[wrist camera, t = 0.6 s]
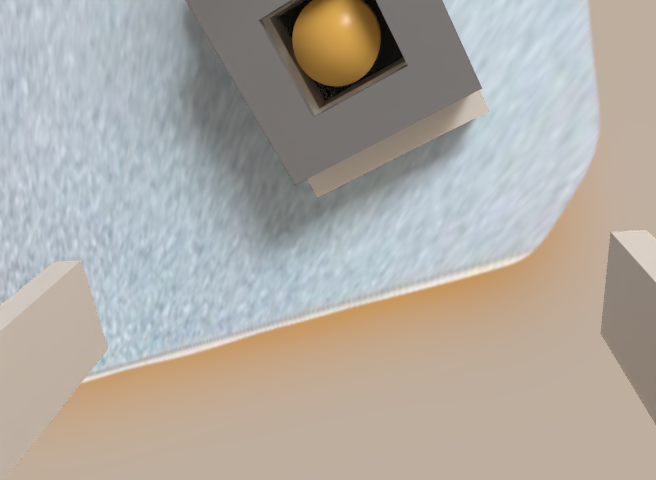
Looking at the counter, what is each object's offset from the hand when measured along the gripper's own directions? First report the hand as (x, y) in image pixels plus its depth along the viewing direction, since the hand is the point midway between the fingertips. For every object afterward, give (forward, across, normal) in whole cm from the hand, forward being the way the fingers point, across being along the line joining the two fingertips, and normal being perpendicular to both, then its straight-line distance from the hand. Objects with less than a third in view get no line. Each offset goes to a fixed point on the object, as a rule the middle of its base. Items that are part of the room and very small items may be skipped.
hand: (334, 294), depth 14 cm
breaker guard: (+26, -1, +4) cm, 26 cm away
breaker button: (+24, -1, +4) cm, 25 cm away
